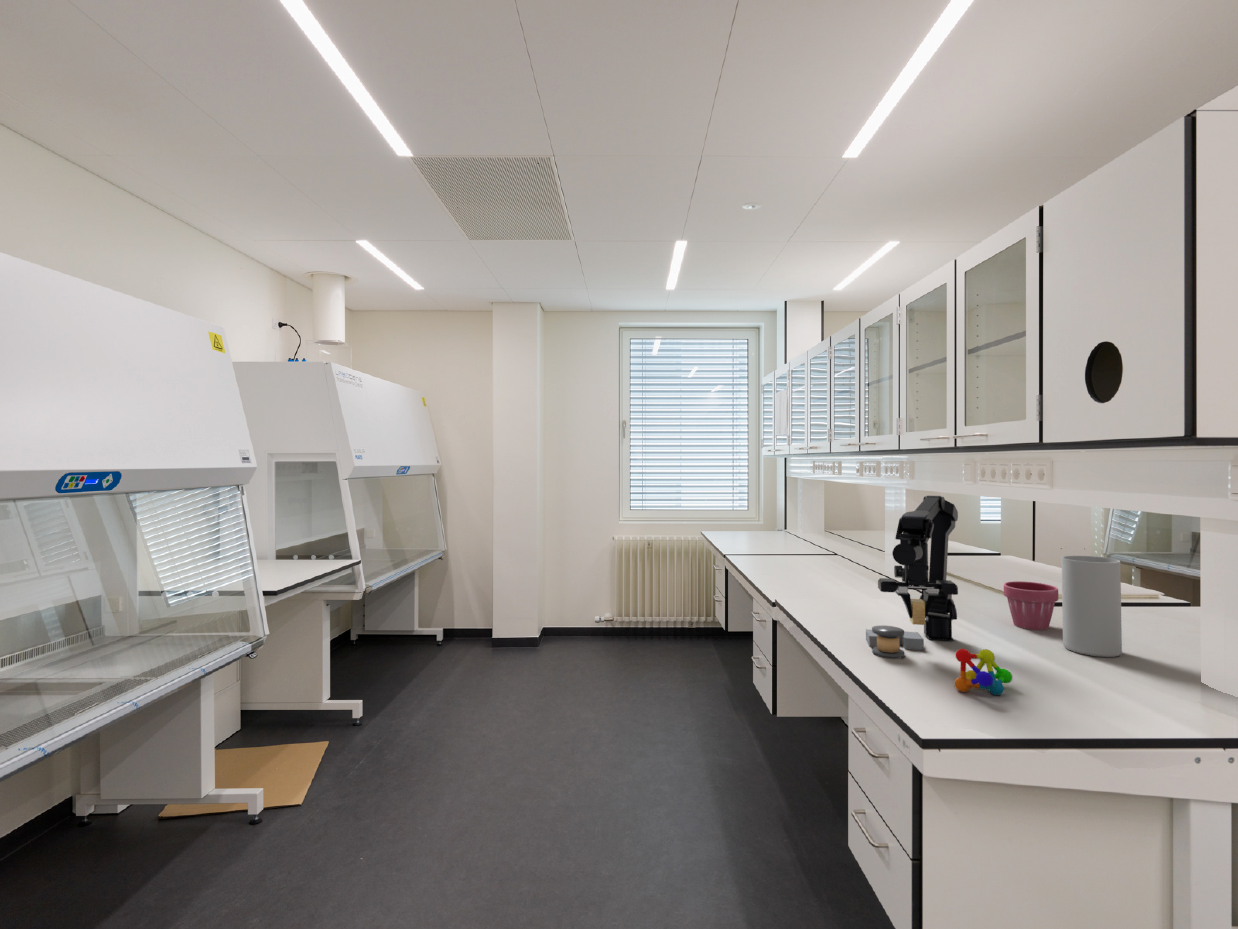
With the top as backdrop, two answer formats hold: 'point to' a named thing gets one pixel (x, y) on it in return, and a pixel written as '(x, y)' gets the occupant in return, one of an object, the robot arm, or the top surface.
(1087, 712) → the top surface
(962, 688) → the molecular model
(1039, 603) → the plant pot
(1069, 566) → the cylinder vase
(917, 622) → the tan wooden block
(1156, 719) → the top surface
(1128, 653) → the top surface
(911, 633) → the notch board
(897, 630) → the bobbin
